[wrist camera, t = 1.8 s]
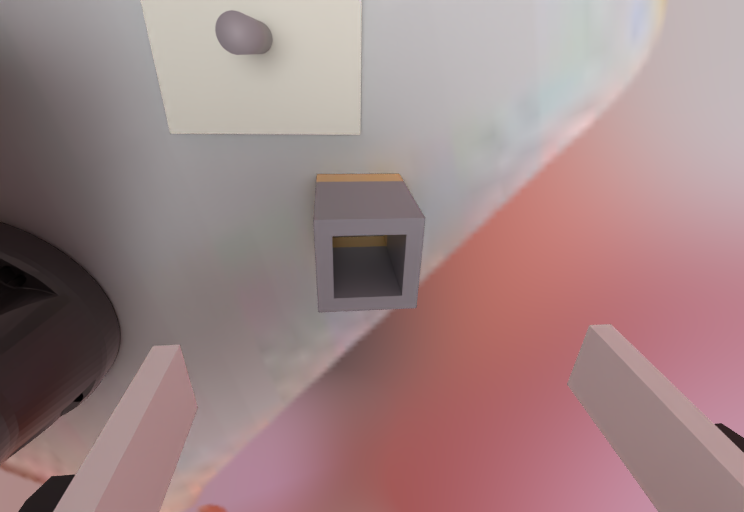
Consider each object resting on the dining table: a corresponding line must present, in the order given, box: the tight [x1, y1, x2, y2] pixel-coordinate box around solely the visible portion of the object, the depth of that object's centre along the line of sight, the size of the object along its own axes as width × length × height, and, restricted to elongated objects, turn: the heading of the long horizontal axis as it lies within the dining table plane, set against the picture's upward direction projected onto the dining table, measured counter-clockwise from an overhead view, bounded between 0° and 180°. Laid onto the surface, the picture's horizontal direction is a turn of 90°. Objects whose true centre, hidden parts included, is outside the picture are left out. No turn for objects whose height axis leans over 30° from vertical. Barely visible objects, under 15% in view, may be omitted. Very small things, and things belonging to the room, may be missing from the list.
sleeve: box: [313, 174, 425, 312], centre depth 21 cm, size 5×5×7 cm
